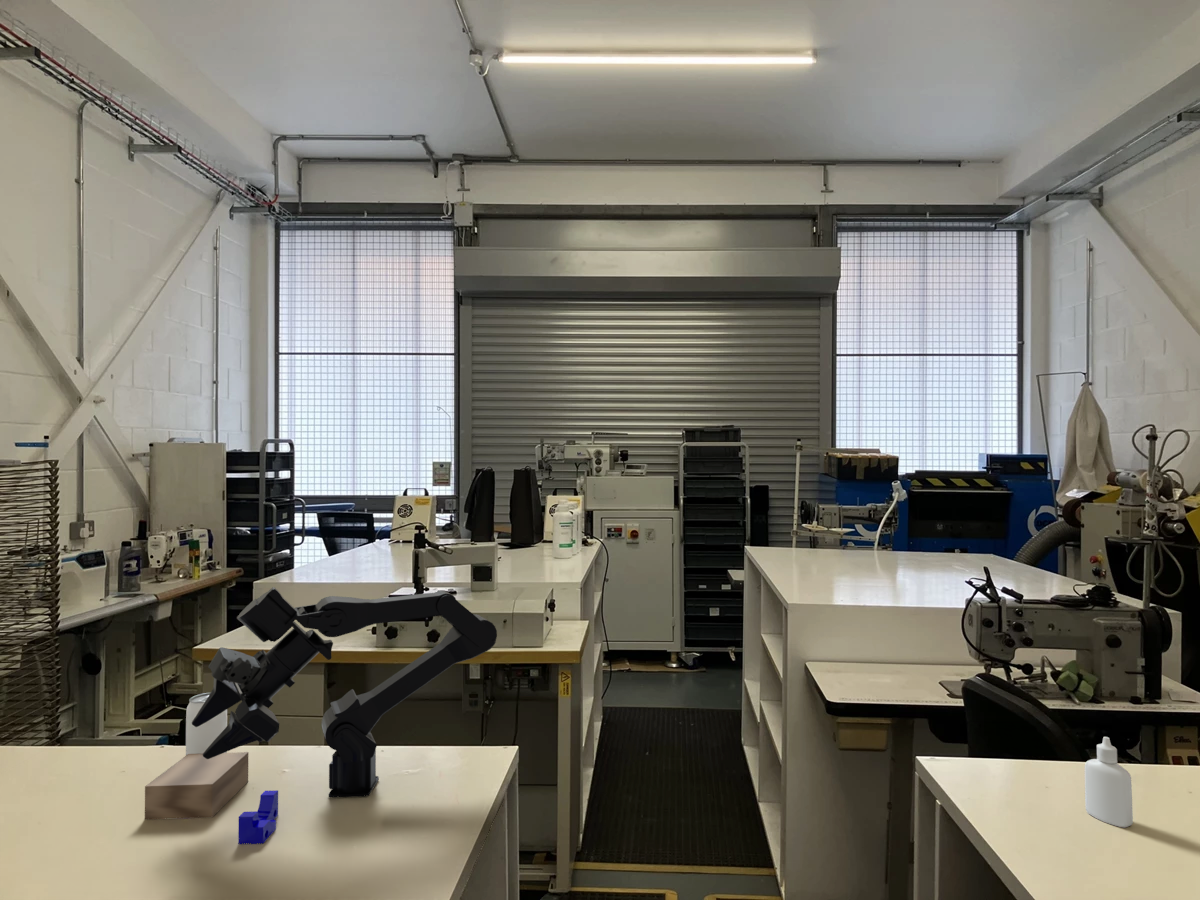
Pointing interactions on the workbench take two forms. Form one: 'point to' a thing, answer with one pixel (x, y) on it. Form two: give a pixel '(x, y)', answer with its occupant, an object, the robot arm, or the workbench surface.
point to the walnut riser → (196, 786)
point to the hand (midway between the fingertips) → (199, 740)
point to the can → (202, 726)
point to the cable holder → (259, 820)
